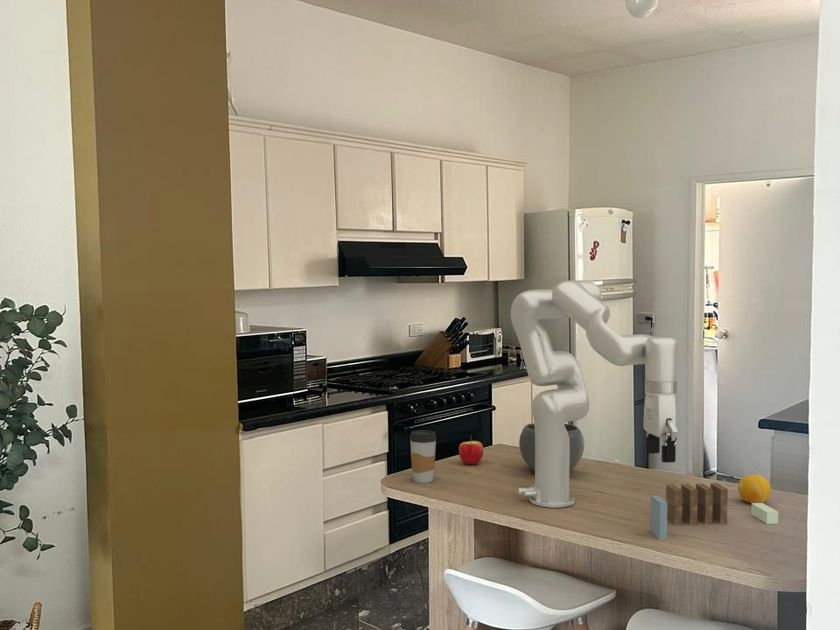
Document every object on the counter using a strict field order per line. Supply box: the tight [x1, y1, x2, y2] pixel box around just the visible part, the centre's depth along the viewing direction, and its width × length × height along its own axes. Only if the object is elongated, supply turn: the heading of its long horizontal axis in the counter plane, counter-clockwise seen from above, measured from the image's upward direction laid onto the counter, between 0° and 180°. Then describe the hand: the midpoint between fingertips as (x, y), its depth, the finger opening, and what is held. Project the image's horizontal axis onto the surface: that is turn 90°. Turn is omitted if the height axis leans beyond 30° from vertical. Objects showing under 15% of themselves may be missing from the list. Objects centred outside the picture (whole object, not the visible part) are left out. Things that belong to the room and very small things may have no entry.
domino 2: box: [665, 483, 683, 526], centre depth 207 cm, size 2×6×9 cm, turn 5°
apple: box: [458, 435, 484, 465], centre depth 268 cm, size 8×8×10 cm
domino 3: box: [680, 483, 698, 526], centre depth 207 cm, size 2×6×9 cm, turn 5°
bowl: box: [518, 422, 585, 472], centre depth 256 cm, size 20×20×15 cm
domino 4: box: [695, 483, 713, 525], centre depth 207 cm, size 2×6×9 cm, turn 5°
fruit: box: [737, 473, 772, 504], centre depth 223 cm, size 9×8×8 cm
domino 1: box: [649, 495, 668, 540], centre depth 196 cm, size 2×6×9 cm, turn 5°
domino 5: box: [709, 482, 729, 525], centre depth 208 cm, size 2×6×9 cm, turn 5°
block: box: [750, 503, 779, 525], centre depth 209 cm, size 3×8×3 cm, turn 5°
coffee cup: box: [409, 429, 437, 484], centre depth 247 cm, size 8×8×15 cm
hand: (660, 457), depth 195 cm, fingers open, 9 cm apart
